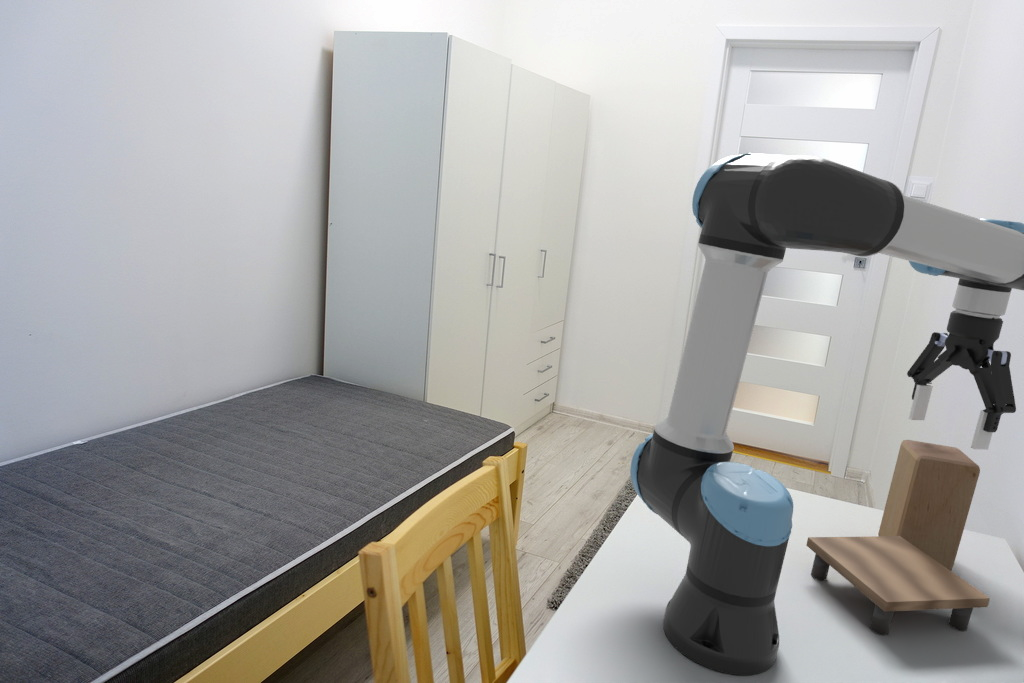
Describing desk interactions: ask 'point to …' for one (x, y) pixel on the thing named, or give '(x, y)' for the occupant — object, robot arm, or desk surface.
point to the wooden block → (930, 498)
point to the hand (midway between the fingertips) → (946, 433)
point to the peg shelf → (896, 578)
